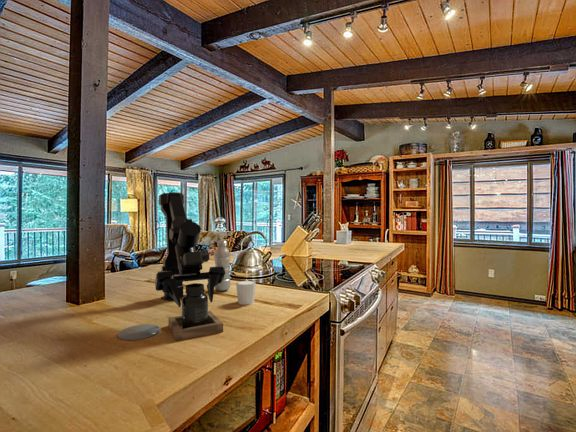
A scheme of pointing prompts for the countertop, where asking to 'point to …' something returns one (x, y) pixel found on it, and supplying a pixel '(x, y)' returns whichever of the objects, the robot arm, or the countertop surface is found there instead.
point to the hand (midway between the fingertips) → (196, 303)
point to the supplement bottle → (194, 306)
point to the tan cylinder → (245, 292)
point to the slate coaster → (139, 332)
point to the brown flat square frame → (195, 331)
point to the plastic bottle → (222, 264)
